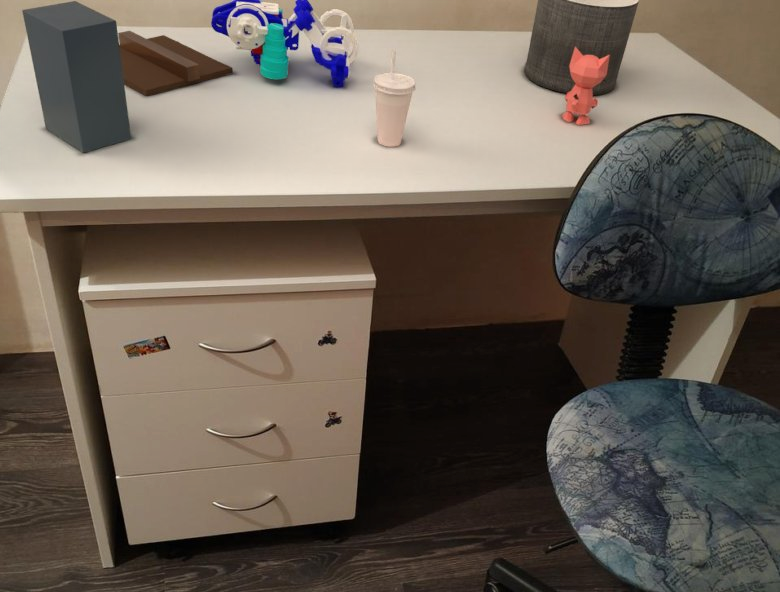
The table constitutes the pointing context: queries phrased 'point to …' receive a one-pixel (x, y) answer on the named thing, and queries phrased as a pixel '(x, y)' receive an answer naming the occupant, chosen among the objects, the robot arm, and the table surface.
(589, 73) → the cat figurine
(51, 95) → the stand
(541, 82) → the planter
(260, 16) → the robot toy
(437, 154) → the table surface
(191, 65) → the brown wooden bar
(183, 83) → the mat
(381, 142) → the smoothie
